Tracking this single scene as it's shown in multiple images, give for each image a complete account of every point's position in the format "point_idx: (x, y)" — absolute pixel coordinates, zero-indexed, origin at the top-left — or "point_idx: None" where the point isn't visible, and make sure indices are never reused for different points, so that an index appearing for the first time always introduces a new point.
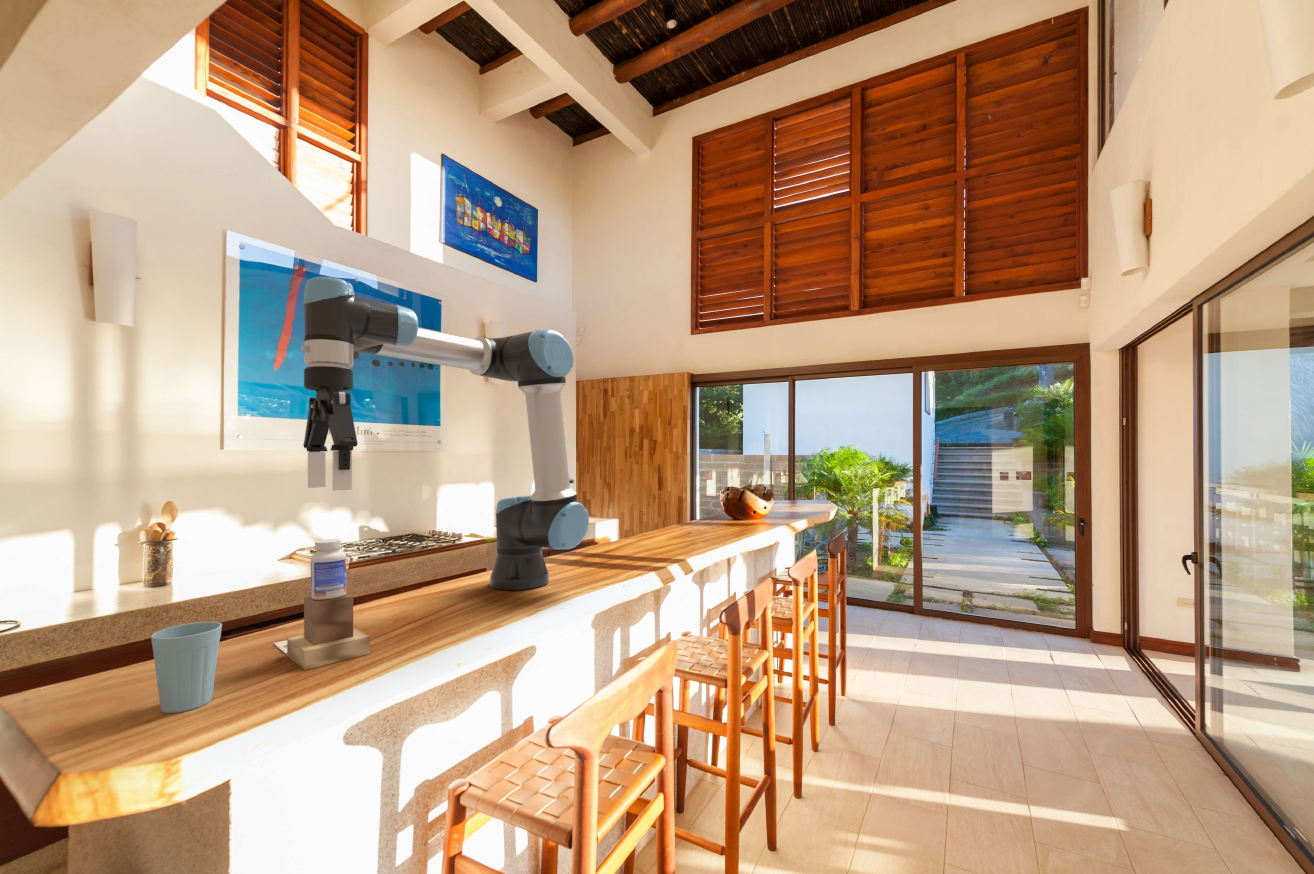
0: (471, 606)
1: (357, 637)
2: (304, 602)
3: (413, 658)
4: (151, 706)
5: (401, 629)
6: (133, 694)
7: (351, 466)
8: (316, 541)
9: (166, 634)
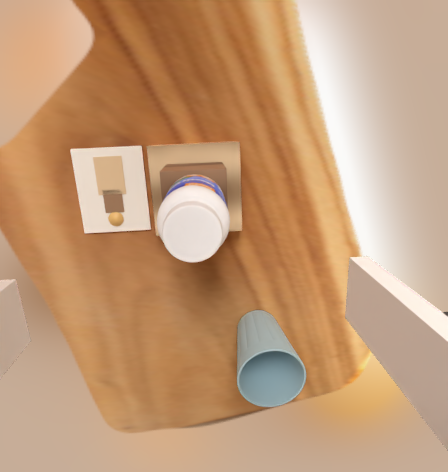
0: None
1: (230, 158)
2: None
3: (305, 100)
4: (236, 350)
5: (141, 53)
6: (184, 362)
7: (430, 305)
8: (181, 258)
9: (244, 390)
